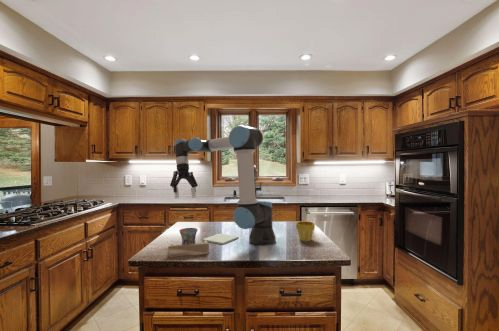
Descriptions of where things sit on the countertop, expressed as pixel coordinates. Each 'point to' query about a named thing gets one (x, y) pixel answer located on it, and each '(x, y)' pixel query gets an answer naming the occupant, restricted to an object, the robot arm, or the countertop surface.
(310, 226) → the plant pot
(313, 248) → the countertop surface
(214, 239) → the board
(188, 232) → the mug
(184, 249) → the mug holder
